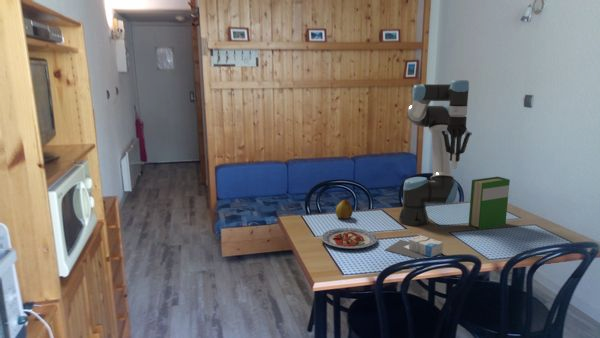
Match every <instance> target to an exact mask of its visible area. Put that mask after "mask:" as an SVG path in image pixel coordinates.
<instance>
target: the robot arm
mask: <svg viewBox="0 0 600 338" xmlns="http://www.w3.org/2000/svg"><path fill="white" fill-rule="evenodd" d="M469 90H470V81H469V80H466V79H464V80H463V79H461V80H459V79H454V80H451V81H450V83H449V84H448V83H447V84H443V83H442V84H440V83H439V84H430V83H428V84H424V83H421V84H414V85H413V87H412V100H413V101H412V103H411V105H410V106H409V107H408V109H407V112H406V113H407V114H406V115H407V118H408V120H409V122H411V123H412V124H413V125H415V126H416V127H417V126H418V127H420V128H428V131H429V132H430V133H431V143H432V144H431V146H432V147H431V148H432V176H430V180H429V179H428V178H427V177H424V176H414V177H409V178H407V179H405V181H404V183H403V188H402V189H403V190H402V191H403V197H402V208H401V211H400V213H399V216H398V221H399V223H402V224H404V225H407V226H412V227H413V226H414V227H418V226H419V227H420V226H422V227H423V226H425V225H428V224H429V221H430V219H429V215H428V212H427V206H426V205H427V204H445V205H446V204H453V203H455V201H456V198H457V195H458V189H459V187H458V186H459V185H458V182H457V181H456V180H454V179H455V178H454V176H453V175H452V173H451V169H453V170H455V169H457V168H458V162H459V161H460V155H461V154H464V153H465V151H466V148H467V145H468V142H469V139H470V137H471V136H472V134H473V132H472V131H471V132H470V131H469V130H468V129H467V119H468V118H467V116H468V115H467V114H468V102H469ZM431 102H449V105H443V104H442V105H430V103H431ZM449 135H450V137H449ZM463 136H464V138H463ZM462 139H463V141H462Z"/></svg>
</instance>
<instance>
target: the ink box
mask: <svg viewBox="0 0 600 338" xmlns="http://www.w3.org/2000/svg"><path fill="white" fill-rule="evenodd" d="M408 239H409V238H408ZM408 242H409V245H407V246H404V247H405V248H407V249H409V250H412V251H415V252H417V253H420V254H423V255H426V256H429V257H431V258H434V257H435V256H438V255H440V254H443V250H444V249H443V248H444V247H443V246H444V242H443V241H439V240H437V239H433V238H430V237H427V236H425V235H421V234H420V235H417V236H414V237H411V238H410V239H409V240H408Z"/></svg>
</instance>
